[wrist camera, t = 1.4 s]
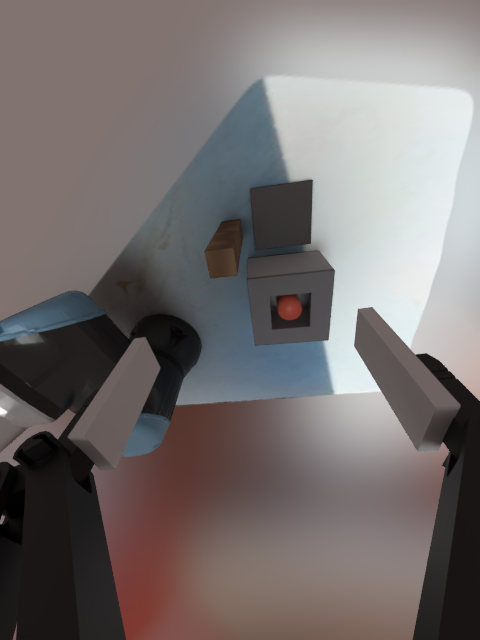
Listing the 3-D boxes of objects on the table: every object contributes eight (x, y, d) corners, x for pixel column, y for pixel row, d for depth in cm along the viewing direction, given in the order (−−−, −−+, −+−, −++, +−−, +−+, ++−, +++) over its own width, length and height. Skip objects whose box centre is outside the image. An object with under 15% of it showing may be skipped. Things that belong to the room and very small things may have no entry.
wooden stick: (224, 240, 39) (210, 278, 26) (221, 221, 38) (204, 251, 24) (242, 238, 39) (237, 275, 25) (240, 219, 37) (233, 248, 24)
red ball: (276, 307, 41) (278, 321, 37) (275, 288, 39) (277, 301, 35) (297, 305, 40) (301, 319, 37) (297, 286, 38) (302, 299, 35)
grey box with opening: (254, 316, 47) (255, 345, 39) (248, 258, 41) (246, 279, 33) (315, 311, 46) (328, 340, 38) (318, 250, 39) (334, 270, 32)
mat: (255, 249, 40) (255, 250, 39) (250, 188, 35) (249, 189, 34) (309, 242, 39) (310, 243, 38) (311, 179, 34) (312, 180, 33)
